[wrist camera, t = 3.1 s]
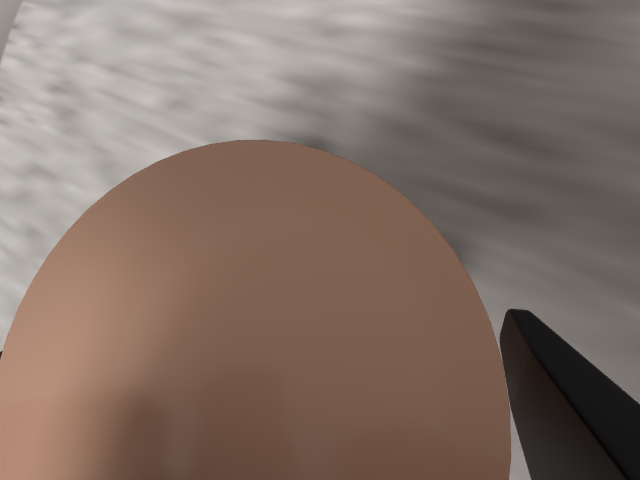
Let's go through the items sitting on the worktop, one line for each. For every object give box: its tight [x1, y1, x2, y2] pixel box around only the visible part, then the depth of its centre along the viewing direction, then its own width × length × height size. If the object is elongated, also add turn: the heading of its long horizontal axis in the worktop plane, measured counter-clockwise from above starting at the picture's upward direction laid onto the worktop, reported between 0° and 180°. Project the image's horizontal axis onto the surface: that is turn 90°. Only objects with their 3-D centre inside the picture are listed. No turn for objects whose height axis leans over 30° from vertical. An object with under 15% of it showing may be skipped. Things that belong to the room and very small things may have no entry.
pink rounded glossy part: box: [0, 140, 511, 480], centre depth 9 cm, size 6×6×12 cm
